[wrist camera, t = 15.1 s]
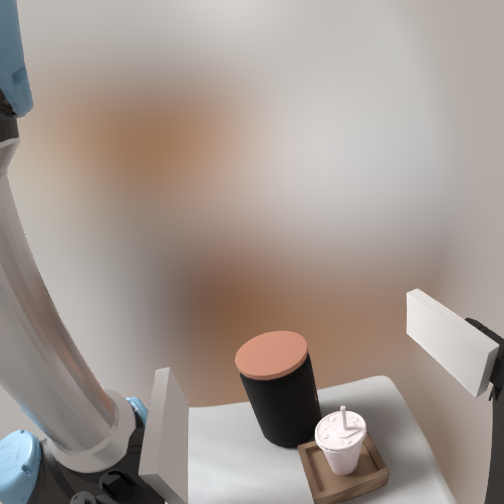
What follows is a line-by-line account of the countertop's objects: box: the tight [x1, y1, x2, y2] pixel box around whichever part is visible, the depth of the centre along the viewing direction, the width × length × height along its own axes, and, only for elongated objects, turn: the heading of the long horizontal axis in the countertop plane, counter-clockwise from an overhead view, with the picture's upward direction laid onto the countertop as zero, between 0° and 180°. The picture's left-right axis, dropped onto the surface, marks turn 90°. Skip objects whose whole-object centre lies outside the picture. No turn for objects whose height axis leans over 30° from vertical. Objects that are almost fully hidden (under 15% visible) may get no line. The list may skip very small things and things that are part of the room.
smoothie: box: [315, 406, 367, 476], centre depth 31 cm, size 6×6×14 cm
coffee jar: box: [235, 331, 322, 447], centre depth 44 cm, size 11×11×18 cm
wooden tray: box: [297, 433, 389, 504], centre depth 34 cm, size 10×10×4 cm
